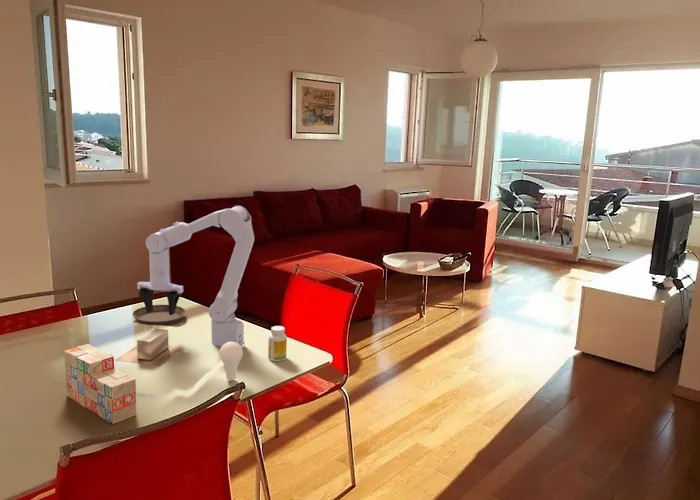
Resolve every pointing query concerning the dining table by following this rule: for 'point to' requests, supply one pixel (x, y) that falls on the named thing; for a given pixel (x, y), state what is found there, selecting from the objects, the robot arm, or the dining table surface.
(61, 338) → the dining table surface
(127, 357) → the oak board
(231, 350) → the lightbulb
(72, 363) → the stack of blocks
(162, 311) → the plant saucer
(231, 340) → the robot arm
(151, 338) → the block
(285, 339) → the supplement bottle
